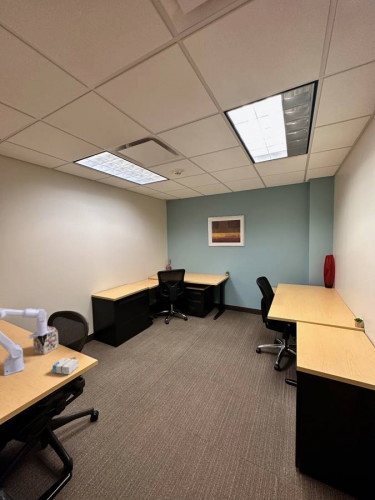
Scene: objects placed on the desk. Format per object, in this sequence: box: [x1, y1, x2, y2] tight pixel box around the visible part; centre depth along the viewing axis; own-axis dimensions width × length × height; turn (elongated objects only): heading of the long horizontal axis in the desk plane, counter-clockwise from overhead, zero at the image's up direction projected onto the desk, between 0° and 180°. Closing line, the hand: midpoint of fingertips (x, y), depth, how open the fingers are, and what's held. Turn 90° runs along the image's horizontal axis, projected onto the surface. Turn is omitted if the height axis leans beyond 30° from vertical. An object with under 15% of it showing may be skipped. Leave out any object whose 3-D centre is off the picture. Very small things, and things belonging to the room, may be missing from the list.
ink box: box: [52, 357, 79, 375], centre depth 130 cm, size 8×5×12 cm
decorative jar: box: [32, 325, 59, 355], centre depth 155 cm, size 12×12×18 cm
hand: (43, 345), depth 141 cm, fingers closed
